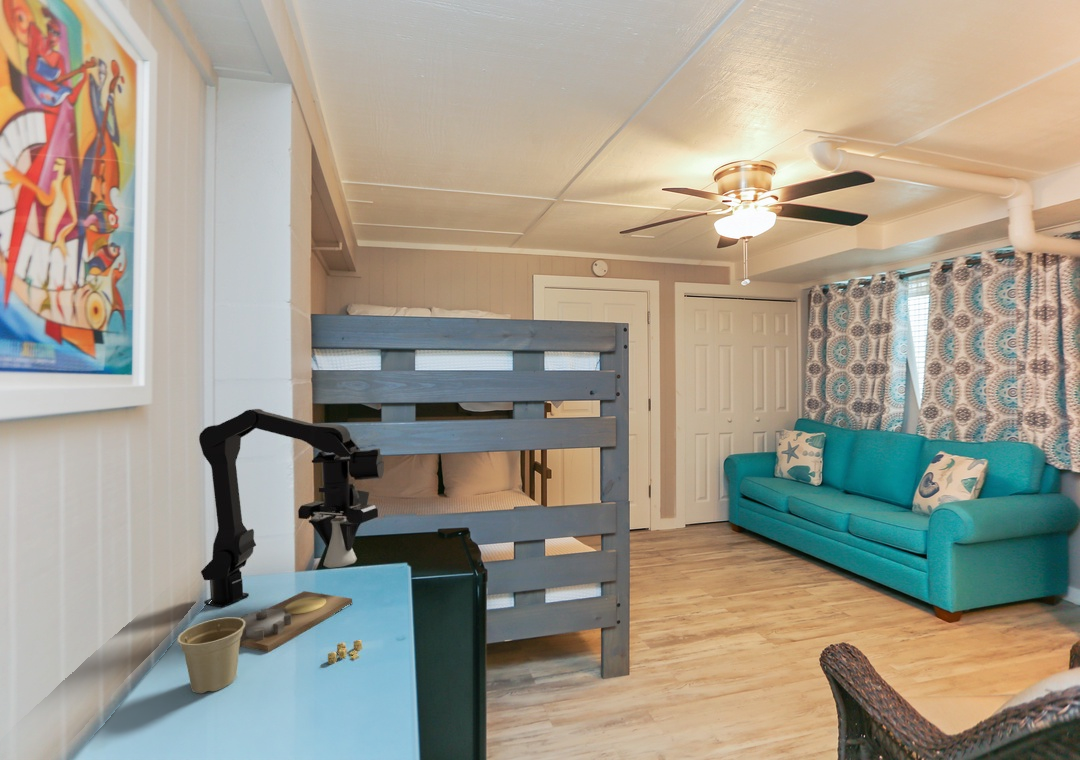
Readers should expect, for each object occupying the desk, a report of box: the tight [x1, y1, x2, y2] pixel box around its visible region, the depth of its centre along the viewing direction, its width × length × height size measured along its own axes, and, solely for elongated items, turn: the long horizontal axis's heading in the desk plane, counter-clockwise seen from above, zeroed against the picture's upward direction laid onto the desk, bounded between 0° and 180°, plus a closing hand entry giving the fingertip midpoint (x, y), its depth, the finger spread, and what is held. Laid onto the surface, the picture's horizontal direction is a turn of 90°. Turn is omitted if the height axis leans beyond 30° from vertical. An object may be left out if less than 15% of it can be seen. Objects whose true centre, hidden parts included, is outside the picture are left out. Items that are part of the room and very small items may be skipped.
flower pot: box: [176, 616, 245, 694], centre depth 86 cm, size 9×9×9 cm
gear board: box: [239, 590, 353, 653], centre depth 108 cm, size 14×22×4 cm, turn 157°
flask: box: [322, 517, 358, 569], centre depth 121 cm, size 7×7×10 cm
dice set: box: [327, 639, 363, 665], centre depth 93 cm, size 5×5×2 cm
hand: (339, 549), depth 121 cm, fingers closed on flask, 5 cm apart
